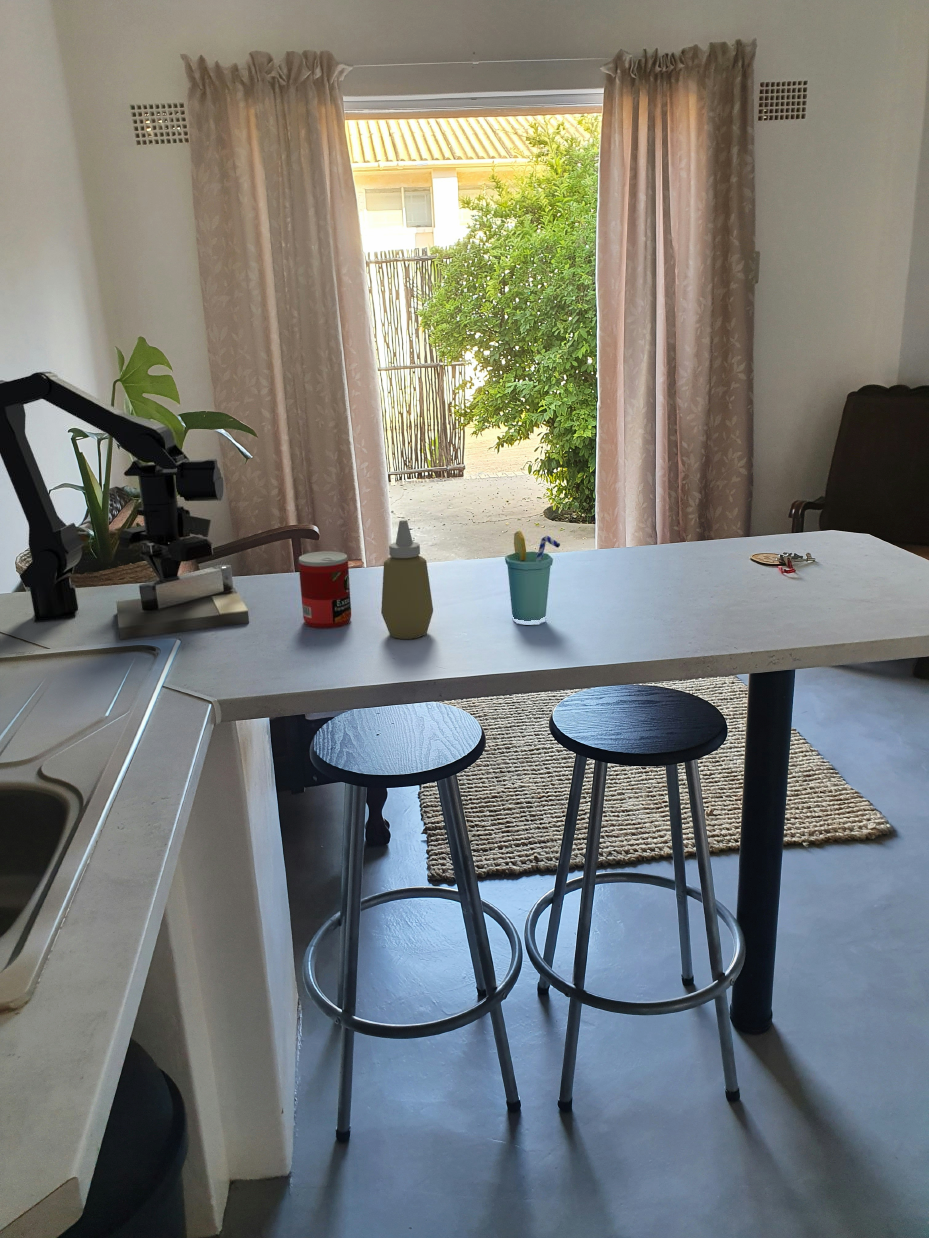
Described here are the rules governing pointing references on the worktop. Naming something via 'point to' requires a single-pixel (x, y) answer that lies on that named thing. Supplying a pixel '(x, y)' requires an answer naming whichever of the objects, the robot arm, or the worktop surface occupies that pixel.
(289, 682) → the worktop surface
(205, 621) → the wooden board
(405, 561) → the squeeze bottle
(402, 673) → the worktop surface
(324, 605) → the canned food
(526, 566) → the cup
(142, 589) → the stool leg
